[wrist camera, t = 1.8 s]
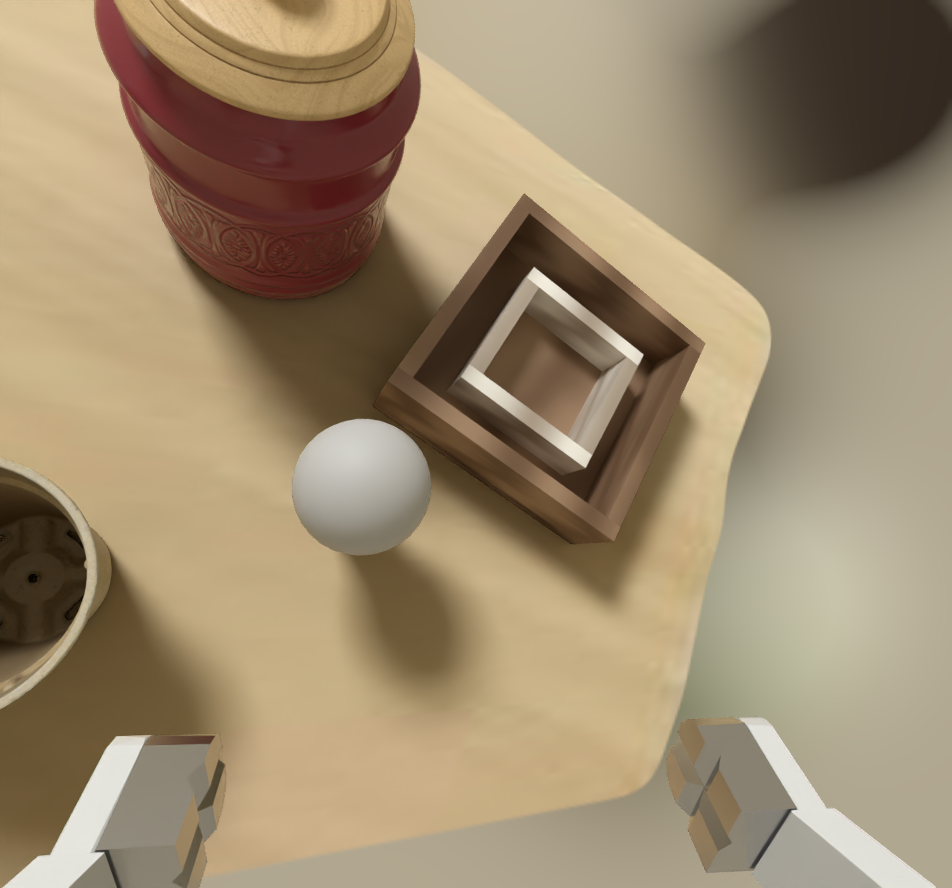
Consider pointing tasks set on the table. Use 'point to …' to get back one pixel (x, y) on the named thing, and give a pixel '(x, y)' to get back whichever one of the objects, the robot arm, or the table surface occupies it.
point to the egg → (361, 487)
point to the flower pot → (43, 577)
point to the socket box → (546, 377)
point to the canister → (268, 128)
